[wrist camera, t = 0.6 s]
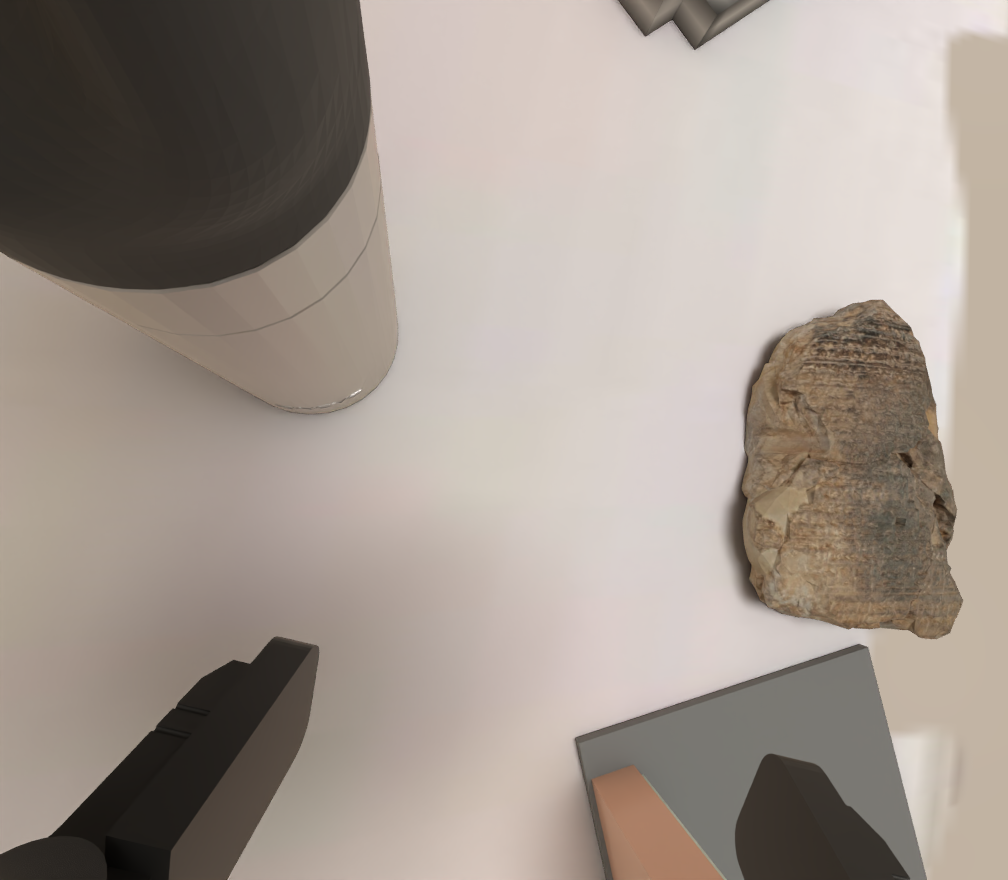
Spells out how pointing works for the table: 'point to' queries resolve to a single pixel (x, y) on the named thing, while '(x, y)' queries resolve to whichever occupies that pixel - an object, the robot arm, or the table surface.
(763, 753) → the rubber mat
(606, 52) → the table surface
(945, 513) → the clay tablet
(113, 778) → the robot arm
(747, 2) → the grey square tray
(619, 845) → the terracotta tile
